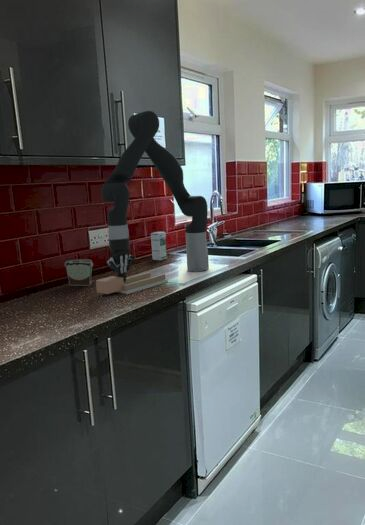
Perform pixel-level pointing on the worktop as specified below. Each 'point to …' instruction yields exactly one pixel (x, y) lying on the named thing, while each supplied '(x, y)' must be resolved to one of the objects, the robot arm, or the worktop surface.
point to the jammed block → (109, 284)
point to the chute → (142, 282)
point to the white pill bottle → (159, 245)
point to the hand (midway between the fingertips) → (122, 282)
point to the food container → (79, 272)
